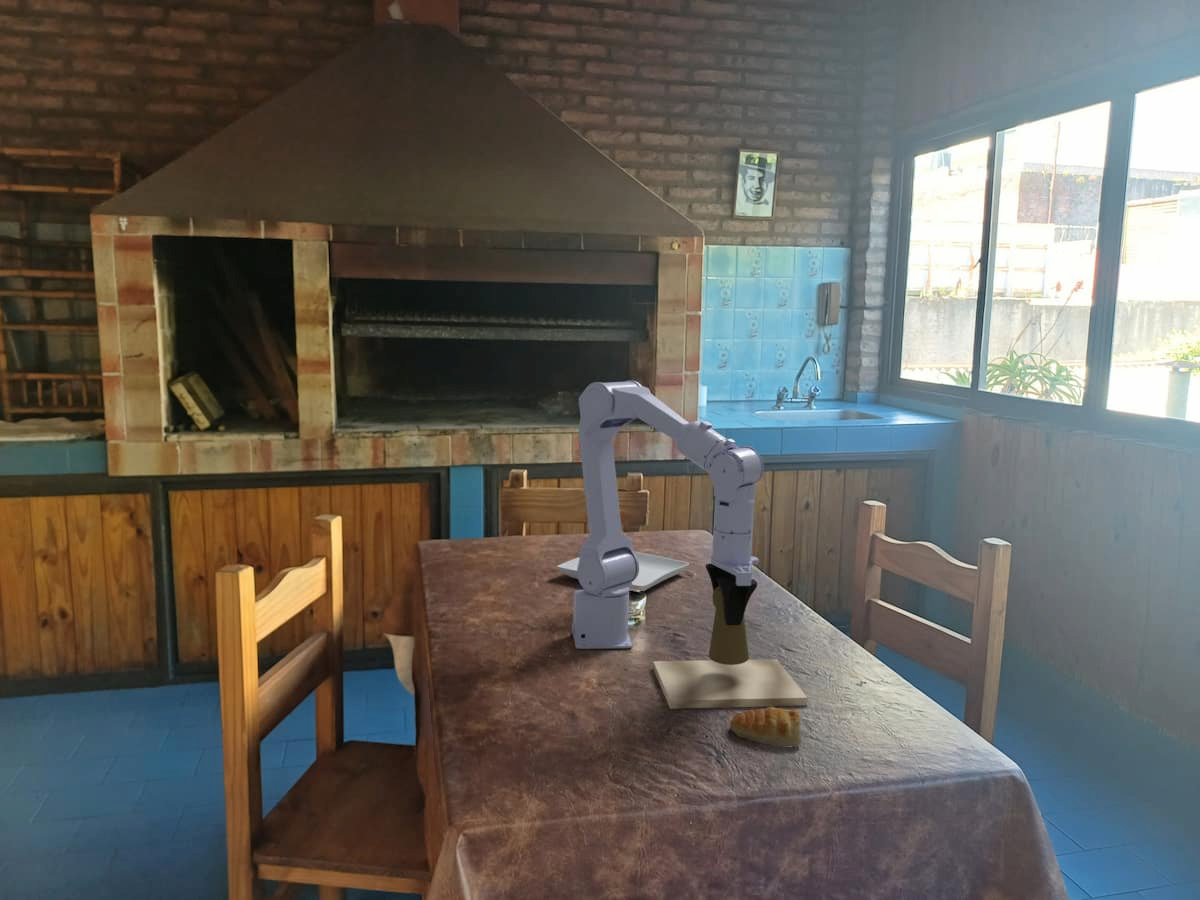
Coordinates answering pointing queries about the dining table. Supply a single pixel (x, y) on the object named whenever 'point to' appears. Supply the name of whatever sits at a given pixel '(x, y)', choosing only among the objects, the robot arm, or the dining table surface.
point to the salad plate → (649, 569)
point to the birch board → (727, 684)
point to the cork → (727, 637)
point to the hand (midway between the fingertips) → (728, 617)
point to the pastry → (769, 726)
